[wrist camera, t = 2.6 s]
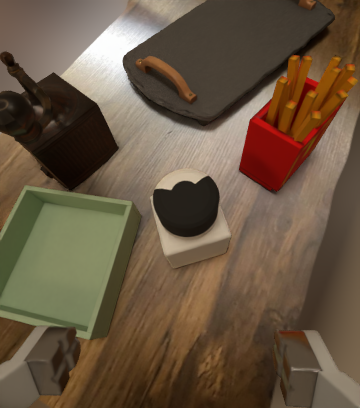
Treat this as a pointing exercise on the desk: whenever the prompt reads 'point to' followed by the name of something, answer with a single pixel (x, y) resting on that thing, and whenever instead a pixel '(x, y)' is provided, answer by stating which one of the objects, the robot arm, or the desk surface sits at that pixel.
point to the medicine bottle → (189, 217)
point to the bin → (65, 259)
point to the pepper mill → (56, 126)
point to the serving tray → (221, 52)
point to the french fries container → (293, 121)
